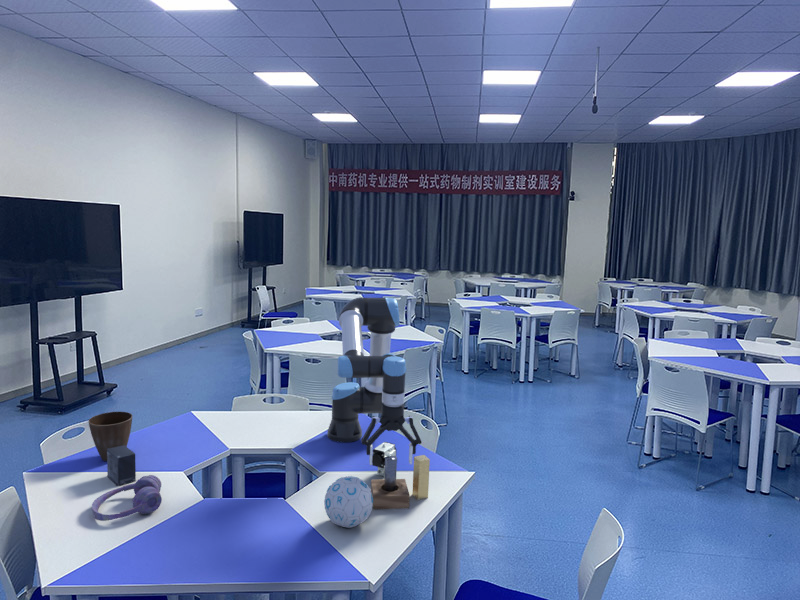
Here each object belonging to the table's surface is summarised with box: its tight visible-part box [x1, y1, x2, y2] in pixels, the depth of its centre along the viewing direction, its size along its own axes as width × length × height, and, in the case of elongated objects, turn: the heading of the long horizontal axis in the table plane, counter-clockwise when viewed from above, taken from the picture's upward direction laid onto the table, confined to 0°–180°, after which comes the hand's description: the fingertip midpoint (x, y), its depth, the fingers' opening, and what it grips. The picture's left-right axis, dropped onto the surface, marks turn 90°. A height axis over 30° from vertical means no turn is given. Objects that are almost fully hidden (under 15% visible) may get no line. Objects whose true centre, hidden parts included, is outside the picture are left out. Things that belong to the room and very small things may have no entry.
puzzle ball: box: [324, 475, 373, 529], centre depth 171 cm, size 15×15×15 cm
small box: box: [106, 445, 137, 487], centre depth 195 cm, size 11×6×10 cm, turn 47°
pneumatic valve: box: [371, 441, 397, 477], centre depth 205 cm, size 6×12×12 cm, turn 152°
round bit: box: [383, 456, 398, 492], centre depth 186 cm, size 4×4×14 cm
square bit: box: [412, 454, 431, 501], centre depth 190 cm, size 4×4×14 cm
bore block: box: [370, 478, 410, 510], centre depth 187 cm, size 12×12×4 cm
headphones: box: [91, 474, 163, 522], centre depth 175 cm, size 18×8×20 cm
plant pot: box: [88, 411, 133, 462], centre depth 211 cm, size 15×15×16 cm
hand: (390, 463), depth 186 cm, fingers open, 13 cm apart
